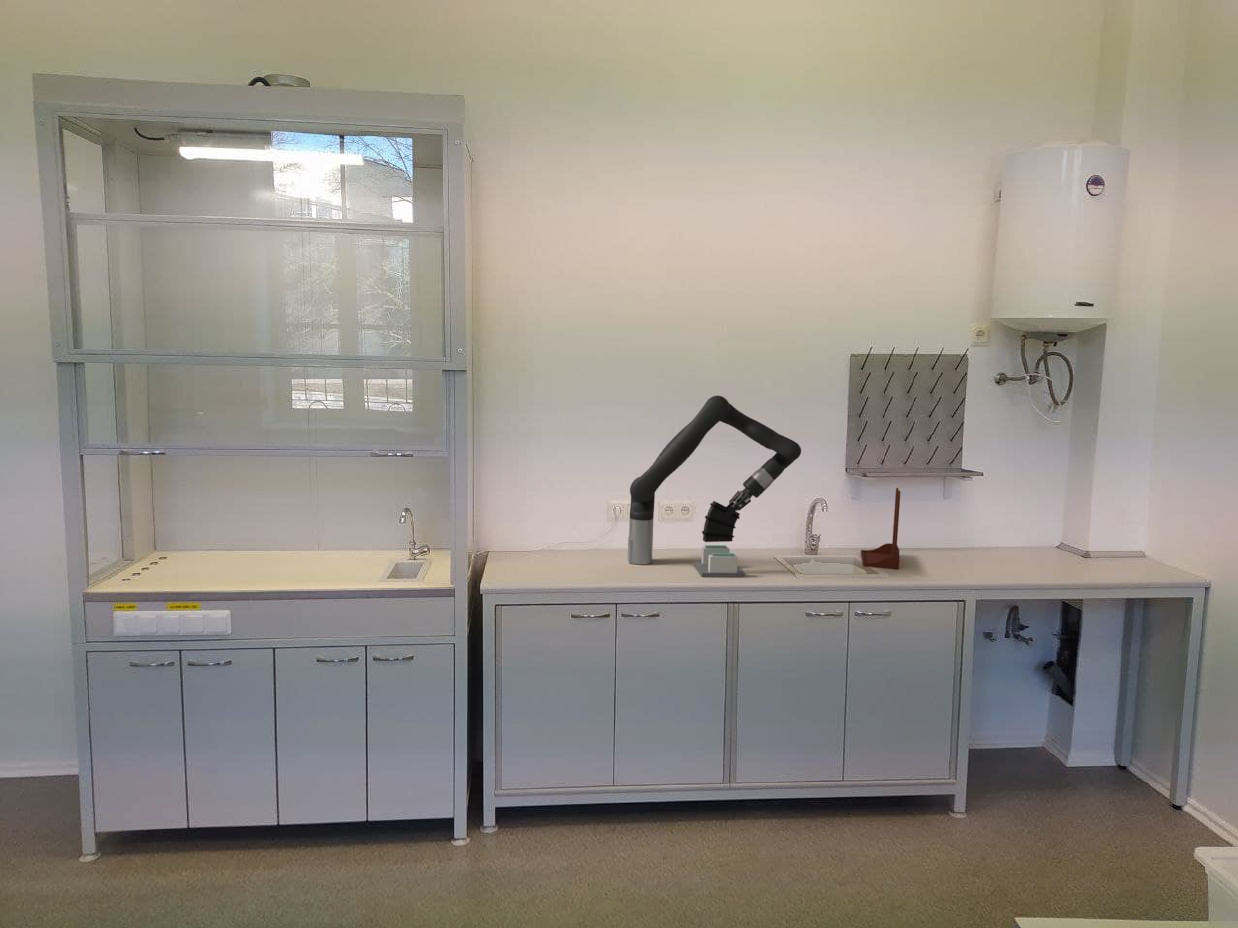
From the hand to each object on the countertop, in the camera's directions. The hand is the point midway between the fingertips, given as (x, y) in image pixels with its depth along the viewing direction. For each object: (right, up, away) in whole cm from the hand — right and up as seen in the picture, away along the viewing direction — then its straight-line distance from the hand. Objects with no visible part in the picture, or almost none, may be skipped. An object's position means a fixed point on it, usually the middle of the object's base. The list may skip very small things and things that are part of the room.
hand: (725, 514), depth 285 cm
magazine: (-2, -10, +1) cm, 10 cm away
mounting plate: (-2, -21, +2) cm, 22 cm away
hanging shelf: (+66, -21, +26) cm, 74 cm away
